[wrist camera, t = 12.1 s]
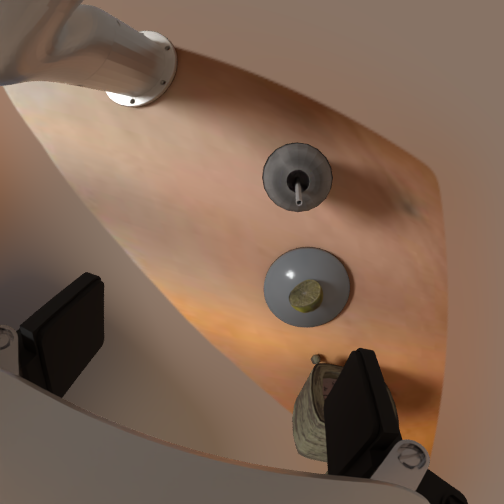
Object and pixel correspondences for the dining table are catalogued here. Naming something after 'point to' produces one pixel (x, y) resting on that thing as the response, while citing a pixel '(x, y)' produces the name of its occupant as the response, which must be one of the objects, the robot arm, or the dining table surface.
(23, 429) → the robot arm
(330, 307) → the slate plate
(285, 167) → the beverage cup
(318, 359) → the tabletop clock
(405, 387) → the dining table surface
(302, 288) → the lime
